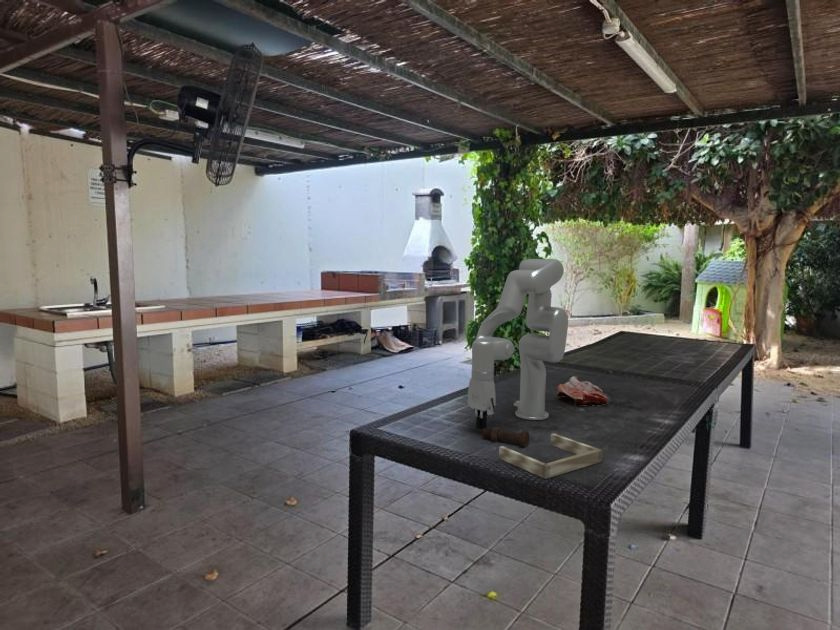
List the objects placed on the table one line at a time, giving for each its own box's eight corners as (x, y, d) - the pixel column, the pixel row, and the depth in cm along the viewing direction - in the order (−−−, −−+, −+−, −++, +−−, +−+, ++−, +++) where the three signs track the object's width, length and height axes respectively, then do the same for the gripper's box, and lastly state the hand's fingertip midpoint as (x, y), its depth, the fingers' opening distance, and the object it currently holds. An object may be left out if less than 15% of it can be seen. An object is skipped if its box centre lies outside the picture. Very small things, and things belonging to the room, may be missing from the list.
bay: (498, 458, 160) (499, 446, 160) (553, 444, 174) (554, 433, 173) (545, 479, 145) (546, 466, 145) (601, 461, 158) (602, 450, 158)
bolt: (484, 443, 180) (527, 450, 172) (479, 439, 176) (522, 446, 168) (488, 426, 182) (530, 432, 174) (482, 422, 178) (526, 428, 170)
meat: (617, 401, 230) (618, 378, 229) (596, 411, 215) (597, 386, 214) (572, 393, 244) (573, 371, 243) (549, 401, 229) (550, 378, 228)
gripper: (460, 373, 187) (459, 424, 189) (488, 381, 175) (487, 435, 177) (476, 371, 191) (475, 421, 193) (505, 378, 179) (504, 432, 181)
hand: (481, 428), depth 185 cm, fingers closed
